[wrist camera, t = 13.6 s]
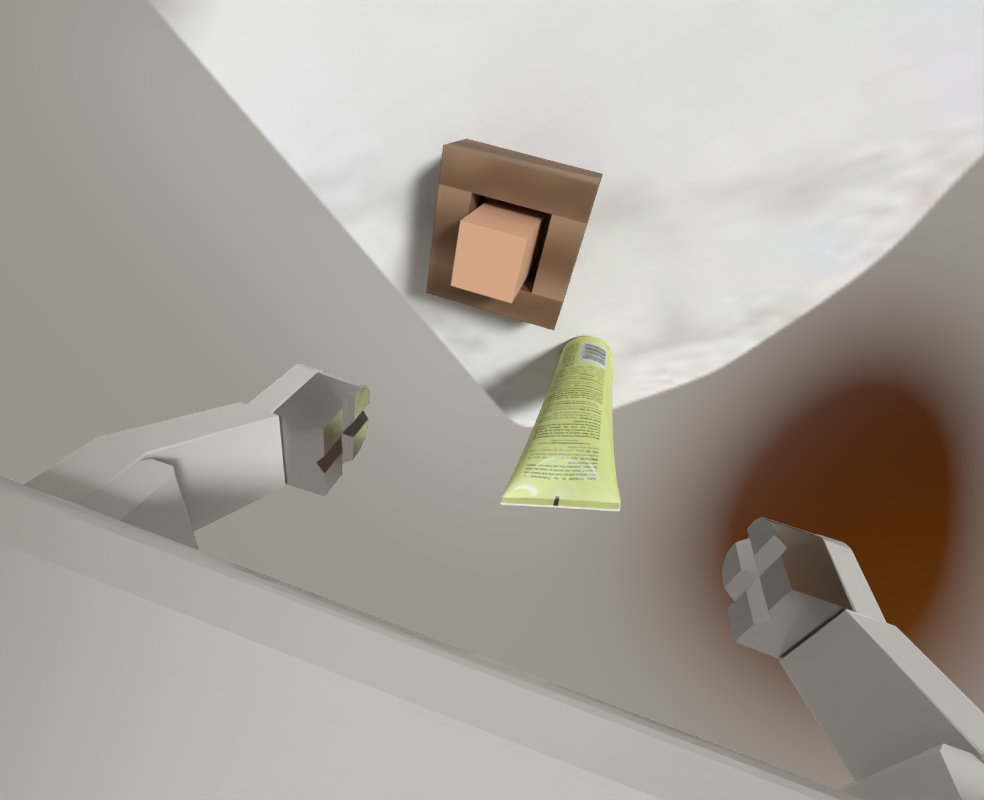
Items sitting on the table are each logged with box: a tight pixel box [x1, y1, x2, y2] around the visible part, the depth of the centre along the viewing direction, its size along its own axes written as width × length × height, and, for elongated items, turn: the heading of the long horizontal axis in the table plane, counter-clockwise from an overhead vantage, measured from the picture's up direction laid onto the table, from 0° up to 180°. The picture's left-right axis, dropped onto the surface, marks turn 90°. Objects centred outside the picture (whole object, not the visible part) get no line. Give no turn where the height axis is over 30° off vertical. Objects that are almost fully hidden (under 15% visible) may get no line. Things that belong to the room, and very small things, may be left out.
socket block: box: [426, 139, 602, 330], centre depth 37 cm, size 11×11×6 cm
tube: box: [500, 336, 621, 511], centre depth 36 cm, size 6×5×20 cm
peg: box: [451, 198, 547, 303], centre depth 34 cm, size 4×4×9 cm
